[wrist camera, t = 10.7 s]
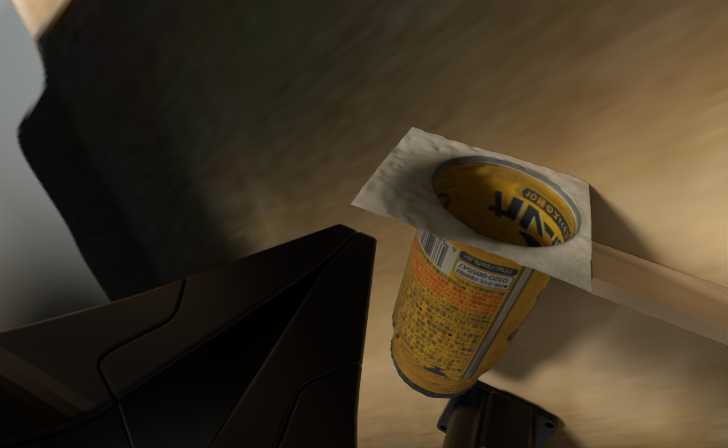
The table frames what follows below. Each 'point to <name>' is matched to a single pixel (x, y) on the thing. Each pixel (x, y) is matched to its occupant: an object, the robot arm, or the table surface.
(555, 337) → the table surface
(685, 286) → the wooden bracket
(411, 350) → the condiment
